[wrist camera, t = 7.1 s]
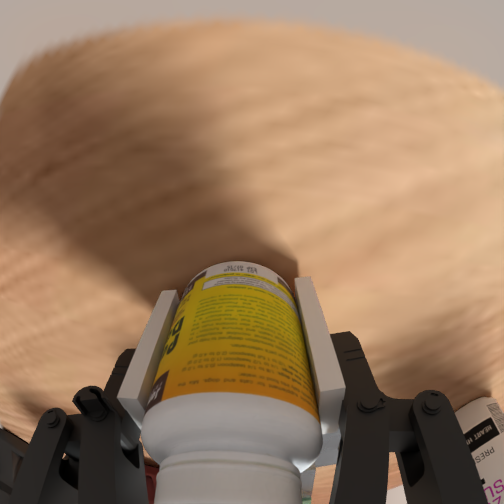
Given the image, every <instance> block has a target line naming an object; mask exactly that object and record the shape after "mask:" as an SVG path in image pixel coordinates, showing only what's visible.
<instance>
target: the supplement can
mask: <svg viewBox="0 0 504 504" xmlns="http://www.w3.org/2000/svg"><path fill="white" fill-rule="evenodd" d="M455 415H456V417H457V420H458V422H459V424H460V427H461V429H462V431H463V434H464V436H465V439H466V441H467V444H468V446H469V449H470V451H471V454H472V457H473V459H474V462H475V465H476V467H477V470H478V473H479V476H480V479H481V482H482V485H483V488H484V491H485V494H486V498H487V501H488V504H504V413H503V411H502V409H501V407H500V406H499V404H498V402H497V401H496V399H495V398H493V397H490V398H488V397H481V398H478V399H476V400H474V401H471V402H470V403H468V404H467V405H465V406H463V407H462V408H460V409H459V410H458V411H456V412H455Z"/></svg>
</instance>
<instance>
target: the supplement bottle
mask: <svg viewBox="0 0 504 504" xmlns="http://www.w3.org/2000/svg"><path fill="white" fill-rule="evenodd" d="M141 439H142V443H143V446H144V448H145V450H146V451H147V453H148V454H149V455H150V456H151V458H152V459H153V460H154V461H155V462H157V463H158V464H159V465H160V468H159V472H158V474H157V476H156V481H157V485H156V492H155V499H154V504H302V494H301V489H302V486H303V485H302V481H301V473H302V472H303V471H305V470H306V469H307V468H309V467H310V466H311V465H312V464H313V463H314V462H315V461H316V459H317V458H318V456H319V454H320V452H321V450H322V445H323V435H322V428H321V422H320V417H319V412H318V406H317V401H316V396H315V391H314V386H313V381H312V376H311V371H310V366H309V361H308V356H307V352H306V347H305V342H304V337H303V332H302V327H301V322H300V318H299V313H298V309H297V304H296V301H295V298H294V295H293V293H292V291H291V289H290V288H289V286H288V285H287V283H286V282H285V281H284V280H283V279H282V278H281V277H280V276H279V275H278V274H276V273H275V272H273V271H272V270H270V269H268V268H266V267H264V266H261V265H259V264H255V263H251V262H244V261H230V262H224V263H220V264H216V265H213V266H211V267H209V268H207V269H205V270H203V271H202V272H200V273H199V274H197V275H196V276H195V277H194V278H193V279H192V280H191V282H190V283H189V284H188V286H187V287H186V289H185V291H184V293H183V295H182V298H181V300H180V303H179V306H178V309H177V312H176V315H175V318H174V321H173V324H172V327H171V330H170V333H169V336H168V339H167V342H166V345H165V348H164V351H163V354H162V358H161V361H160V364H159V367H158V371H157V374H156V377H155V380H154V384H153V387H152V390H151V393H150V397H149V401H148V404H147V407H146V410H145V414H144V418H143V422H142V426H141Z"/></svg>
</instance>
